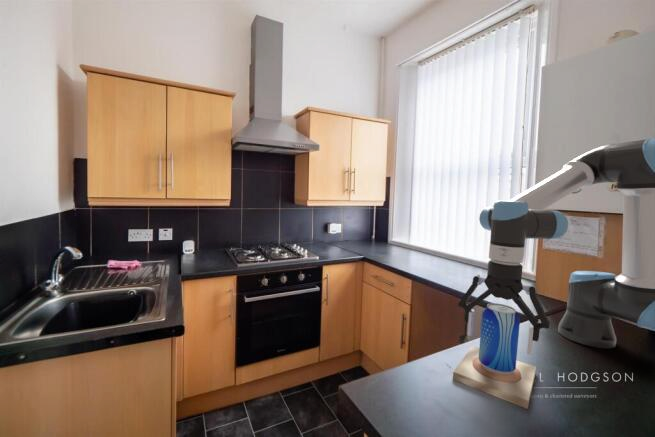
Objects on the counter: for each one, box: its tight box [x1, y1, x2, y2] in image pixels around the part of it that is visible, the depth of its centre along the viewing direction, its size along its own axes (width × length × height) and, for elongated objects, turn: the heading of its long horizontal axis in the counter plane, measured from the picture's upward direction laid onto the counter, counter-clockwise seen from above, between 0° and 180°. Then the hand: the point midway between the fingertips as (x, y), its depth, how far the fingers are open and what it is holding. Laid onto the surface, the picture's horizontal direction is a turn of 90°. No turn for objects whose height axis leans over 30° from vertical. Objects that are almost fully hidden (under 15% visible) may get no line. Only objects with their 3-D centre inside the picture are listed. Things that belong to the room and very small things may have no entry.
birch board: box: [452, 345, 537, 410], centre depth 79 cm, size 16×18×2 cm
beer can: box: [478, 302, 521, 375], centre depth 78 cm, size 8×8×16 cm
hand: (498, 342), depth 78 cm, fingers open, 13 cm apart
